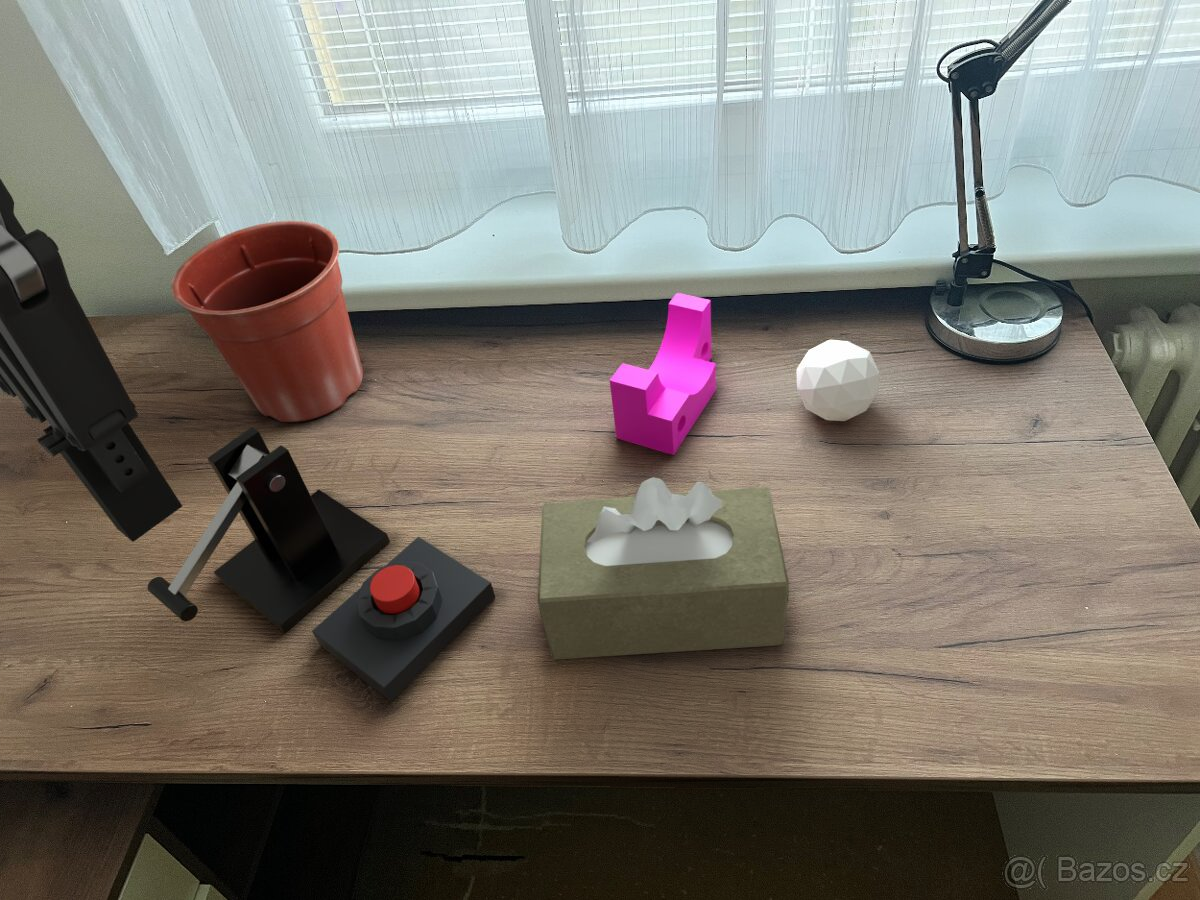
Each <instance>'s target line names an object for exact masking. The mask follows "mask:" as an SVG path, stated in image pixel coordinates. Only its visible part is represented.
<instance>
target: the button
mask: <svg viewBox="0 0 1200 900" xmlns="http://www.w3.org/2000/svg"><path fill="white" fill-rule="evenodd" d="M370 592H371V595H372V597H373V599H374V601H375V603H376V605H377V607H378V608H379V609H380V610H381V611H382V612H385V613H388V614H398V613H401V612H404V611H406V610H408V609H409V608H411V607H412V606H413V605H414V604H415V603H416V601H417V599H418V597H419V592H420V591H419V586H418V584H417V581H416V579H415V576H414V574H413V572H412V571H411V570H410V569H409V568H407V567H405V566H400V565H394V566H390V567H387V568H384V569H382V570H381V571H380V572H378V573H377V574H376V575H375V576H374V578H373V579H372V581H371V584H370Z"/></svg>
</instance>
